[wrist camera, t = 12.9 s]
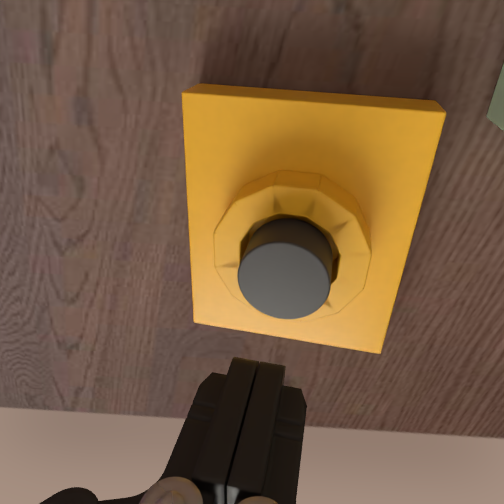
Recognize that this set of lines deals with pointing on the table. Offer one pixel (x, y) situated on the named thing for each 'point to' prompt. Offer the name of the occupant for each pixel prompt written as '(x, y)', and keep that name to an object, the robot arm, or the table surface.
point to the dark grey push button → (286, 269)
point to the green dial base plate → (497, 103)
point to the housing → (306, 198)
